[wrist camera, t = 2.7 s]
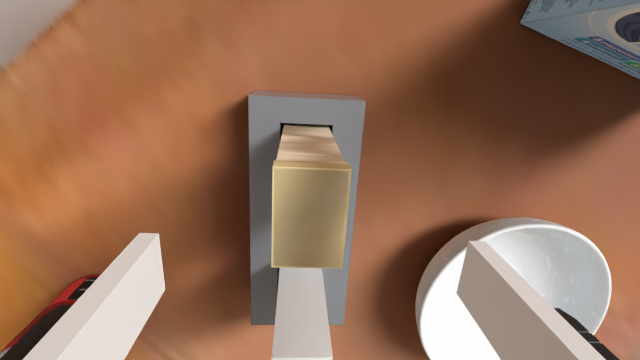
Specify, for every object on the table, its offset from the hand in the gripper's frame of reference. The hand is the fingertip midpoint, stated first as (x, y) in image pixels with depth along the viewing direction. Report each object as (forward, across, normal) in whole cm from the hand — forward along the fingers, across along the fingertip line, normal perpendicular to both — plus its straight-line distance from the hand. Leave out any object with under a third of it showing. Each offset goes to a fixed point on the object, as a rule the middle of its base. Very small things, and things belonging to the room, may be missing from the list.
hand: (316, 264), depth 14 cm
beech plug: (+21, 0, 0) cm, 21 cm away
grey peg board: (+22, 0, +7) cm, 23 cm away
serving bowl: (+22, -23, +16) cm, 36 cm away
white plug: (+20, 0, +13) cm, 24 cm away
